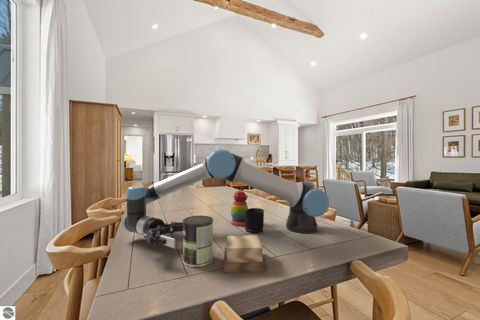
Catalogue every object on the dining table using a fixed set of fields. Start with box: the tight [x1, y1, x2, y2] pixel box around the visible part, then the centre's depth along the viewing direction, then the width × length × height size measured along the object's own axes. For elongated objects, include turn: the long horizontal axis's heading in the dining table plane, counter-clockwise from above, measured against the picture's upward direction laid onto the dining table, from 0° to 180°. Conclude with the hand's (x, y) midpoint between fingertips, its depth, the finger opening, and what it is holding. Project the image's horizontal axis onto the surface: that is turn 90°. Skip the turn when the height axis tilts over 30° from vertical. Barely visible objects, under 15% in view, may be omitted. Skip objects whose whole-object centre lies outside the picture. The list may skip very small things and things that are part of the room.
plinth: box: [223, 234, 267, 274], centre depth 73 cm, size 13×13×7 cm
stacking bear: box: [230, 189, 249, 228], centre depth 117 cm, size 11×10×18 cm
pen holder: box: [244, 207, 265, 235], centre depth 105 cm, size 9×9×10 cm
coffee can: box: [182, 215, 214, 268], centre depth 75 cm, size 10×10×14 cm
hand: (189, 236), depth 76 cm, fingers open, 13 cm apart
